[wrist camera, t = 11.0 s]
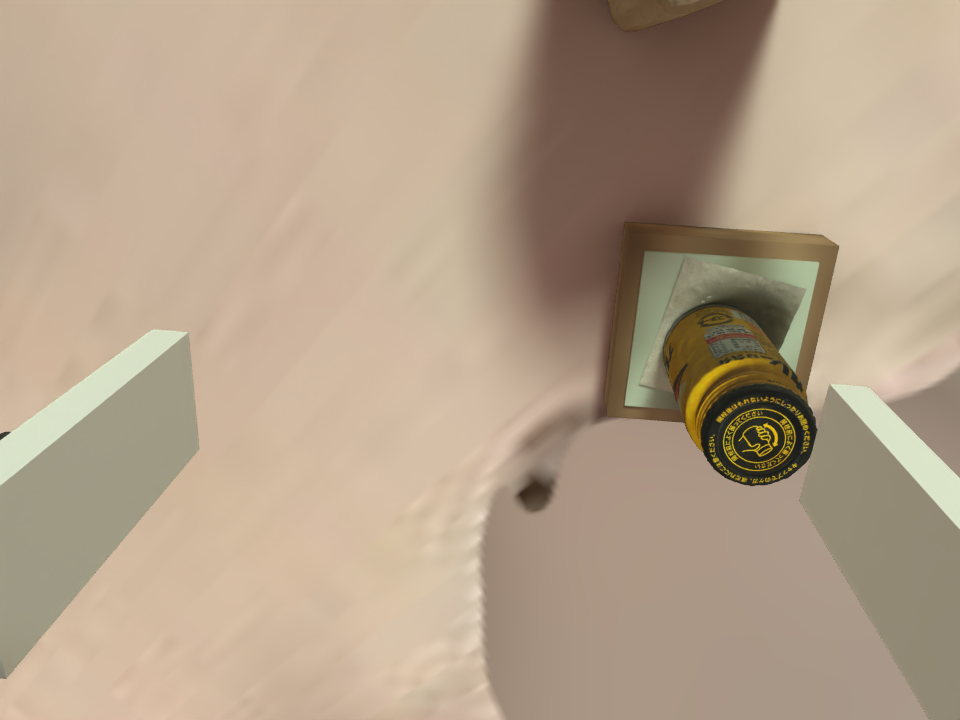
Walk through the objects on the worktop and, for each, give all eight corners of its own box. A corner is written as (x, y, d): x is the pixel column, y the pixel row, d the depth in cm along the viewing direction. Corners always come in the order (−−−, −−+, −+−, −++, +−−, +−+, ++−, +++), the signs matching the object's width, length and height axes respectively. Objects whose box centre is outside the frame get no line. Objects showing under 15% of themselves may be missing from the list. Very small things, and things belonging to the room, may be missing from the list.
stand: (603, 397, 52) (607, 418, 49) (624, 222, 47) (629, 233, 44) (783, 411, 51) (798, 433, 48) (822, 234, 46) (841, 247, 43)
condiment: (638, 383, 47) (665, 482, 36) (685, 255, 44) (729, 321, 33) (750, 412, 48) (811, 521, 36) (805, 287, 44) (889, 364, 33)
